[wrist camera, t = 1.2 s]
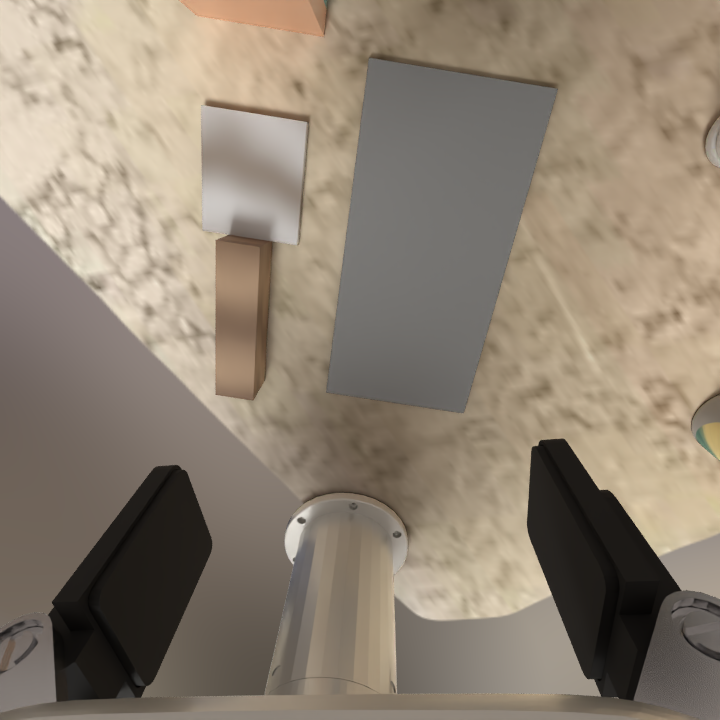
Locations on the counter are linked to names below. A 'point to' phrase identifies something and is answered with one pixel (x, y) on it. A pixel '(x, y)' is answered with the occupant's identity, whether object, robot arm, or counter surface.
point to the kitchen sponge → (266, 13)
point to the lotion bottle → (708, 426)
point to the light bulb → (714, 144)
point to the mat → (430, 229)
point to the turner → (248, 229)
